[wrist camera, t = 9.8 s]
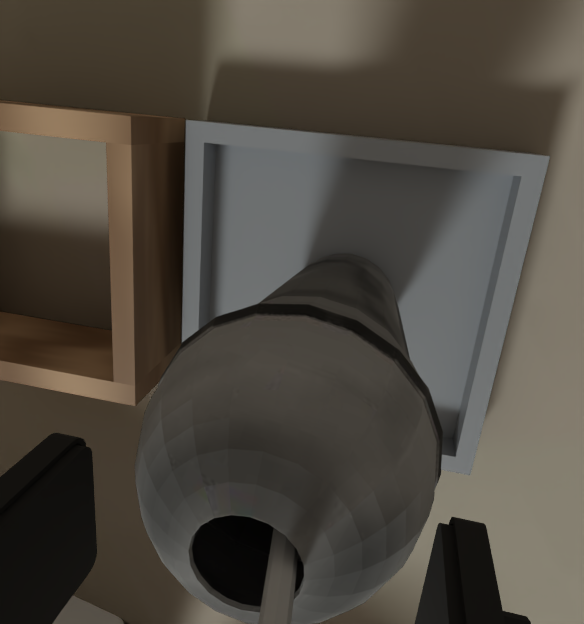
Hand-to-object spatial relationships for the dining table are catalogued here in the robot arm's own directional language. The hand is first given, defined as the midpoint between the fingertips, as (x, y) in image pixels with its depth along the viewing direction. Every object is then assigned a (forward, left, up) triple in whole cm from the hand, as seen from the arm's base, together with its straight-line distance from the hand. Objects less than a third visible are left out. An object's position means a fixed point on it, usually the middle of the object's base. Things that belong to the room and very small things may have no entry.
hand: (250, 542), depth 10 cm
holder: (+14, -1, -16) cm, 21 cm away
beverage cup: (0, 0, -15) cm, 15 cm away
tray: (0, 0, -16) cm, 16 cm away
